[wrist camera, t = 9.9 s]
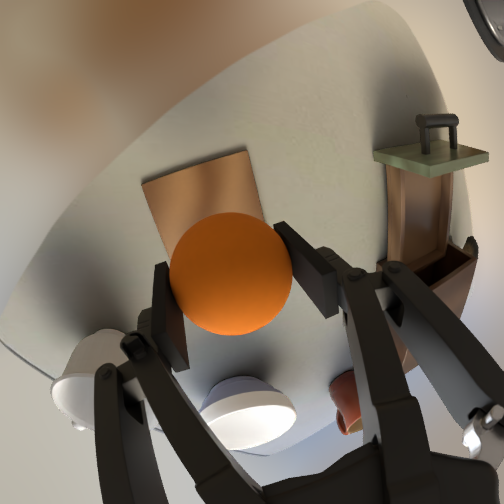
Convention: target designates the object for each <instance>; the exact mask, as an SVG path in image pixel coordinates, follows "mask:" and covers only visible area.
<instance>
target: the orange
mask: <svg viewBox="0 0 504 504" xmlns="http://www.w3.org/2000/svg"><path fill="white" fill-rule="evenodd" d="M292 275H293V272H292V263H291V258H290V255H289V252H288V250H287V248H286V245H285V244H284V242H283V240H282V239H281V237H280V236H279V235H278V234H277V233H276V231H275V230H274V229H272V228H271V227H270V226H269V225H268V224H266V223H265V222H263V221H262V220H260V219H258V218H255V217H253V216H251V215H247V214H243V213H237V212H226V213H218V214H215V215H211V216H208V217H206V218H204V219H202V220H200V221H198V222H197V223H195V224H194V225H193V226H191V227H190V228H189V229H188V230H187V231H186V232H185V233H184V234H183V236H182V237H181V238H180V240H179V241H178V243H177V245H176V247H175V249H174V252H173V254H172V258H171V262H170V270H169V277H170V285H171V290H172V293H173V295H174V298H175V300H176V303H177V304H178V306H179V308H180V309H181V310H182V312H183V313H184V314H185V315H186V316H187V317H188V318H189V319H190V320H191V321H192V322H193V323H195V324H196V325H198V326H199V327H201V328H203V329H205V330H207V331H210V332H212V333H216V334H220V335H242V334H247V333H250V332H253V331H255V330H258V329H259V328H261V327H263V326H265V325H266V324H268V323H269V322H270V321H271V320H272V319H273V318H274V317H275V316H276V315H277V314H278V313H279V312H280V311H281V309H282V308H283V306H284V304H285V302H286V300H287V298H288V296H289V293H290V290H291V285H292Z"/></svg>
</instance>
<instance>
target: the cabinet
mask: <svg viewBox="0 0 504 504" xmlns="http://www.w3.org/2000/svg"><path fill="white" fill-rule="evenodd" d="M386 262H387V259H384V260H382V261H380V262H378V263H377V266H376V272H379V271H382V265H383V264H384V263H386ZM476 263H477V258H475V257H474V256H472V255H471V254H469V253H468V252H466V251H464V250H463V249H461V248H460V247H458V246H456V245H455V244H453V243H451V242H450V241H448V245H447V252H446V256H445V257H443V258H442V259H440V260H438V261H437V262H435V263H433V264H432V265H430V266H428V267H426V268H425V269H423V270H421V271H419V272H417V273H416V275H417V276H418V277H419V278H420V279H421V280H422V281H423V282H424V283H425V284H426V285H427V286H428V287H429V288H430V289H431V290H432V291H433V292H434V293H435V294H436V295H437V296H438V297H439V298H440V299H441V300H442V301H443V302H444V303H445V304H446V305H447V306H448V307H449V308H450V310H451V311H452V312H453V313H454V314H455V315H456V316H457V317H458V318H459V319H460V317H461V314H462V312H463V309H464V306H465V303H466V299H467V296H468V293H469V290H470V286H471V283H472V279H473V275H474V271H475V267H476ZM386 320H387V319H386ZM387 323H388V326H389V329H390V331H391V334H392V337H393V340H394V343H395V346H396V349H397V352H398V355H399V358H400V361H401V364H402V368H403V371H404V374H406V373H407V372H409V371H410V370H412V369H413V368H415V367H416V366H418V365H419V364H418V363H417V361H416V360H415V359H414V357H413V356H412V354H411V353H410V351H409V350H408V348H407V347H406V346H405V344H404V343H403V341H402V340H401V338H400V337H399V336H398V334H397V333H396V332H395V330H394V329H393V327H392V326H391V325H390V323H389V322H388V321H387Z"/></svg>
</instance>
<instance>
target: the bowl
mask: <svg viewBox="0 0 504 504" xmlns="http://www.w3.org/2000/svg"><path fill="white" fill-rule="evenodd" d="M199 414H200V415H201V417H202V418H203V419H204V421H205V422H206V423H207V425H208V426H209V427H210V429H211V430H212V431H213V433H214V434H215V435H216V437H217V438H218V439H219V440H220V442H221V443H222V444H223V445H224V447H225V448H226V449H227V450H238V449H245V448H250V447H254V446H258V445H261V444H264V443H266V442H269V441H271V440H273V439H275V438H277V437H279V436H280V435H282V434H283V433H285V432H286V431H287V430H288V429H289V428H290V427H291V426H292V425H293V424H294V422H295V420H296V411H295V408H294V406H293V404H292V402H291V401H290V399H289V398H288V397H287V396H286V395H284V394H283V393H282V392H280V391H279V390H277V389H275V388H274V387H273V386H271V385H269V384H267V383H265V382H262V381H261V380H259V379H257V378H255V377H250V376H239V377H233V378H229V379H226V380H224V381H222V382H220V383H218V384H217V385H215V386H214V387H213V388H212V389H211V391H210V393H209V395H208V396H207V398H206V399H205V400H204V402H203V404H202V407H201V409H200V410H199Z"/></svg>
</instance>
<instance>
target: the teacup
mask: <svg viewBox="0 0 504 504" xmlns="http://www.w3.org/2000/svg"><path fill="white" fill-rule="evenodd" d="M125 335H126V334H124V333H122V332H120V331H118V330H114V329H102V330H99V331H97V332H96V333H95V334H92V335H89V336H87V337H85V338H84V339H82V340H81V341H80V342H79V343H78V345H77V346H76V347H75V349H74V351H73V353H72V355H71V357H70V359H69V361H68V364H67V366H66V368H65V370H64V372H63V374H62V376H60V377H59V378H57V379H56V380H54V381H53V383H52V385H51V396H52V399H53V401H54V403H55V404H56V405H57V407H58V408H59V410H60V411H61V412H62V413H63V414H64V415H65V416H67V417H68V418H69V419H71V420H72V425H73V427H75V428H76V429H78V430H84V429H85V428H88V429H90V430H93V431H95V430H94V376H95V372H96V371H97V369H98V368H99V367H100V366H101V365H103V364H105V363H113V364H114V365H115V366H116V367H117V366H119V365H121V364H123V363H125V362H126V361H128V360H129V359H128V358H127V356H126V355H125V354H124V352H123V351H122V350H121V349H120V342H121V340H122V338H123V337H124V336H125ZM144 403H145V409H146V415H147V420H148V426H149V431H150V430H152V429H154V428H155V427H156V426H157V425H158V424H159V422H158V420H157V419H156V417H155V415H154V413H153V411H152V409H151V407H150V405H149V403H148V401H147V399H146V398H145V399H144Z"/></svg>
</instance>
